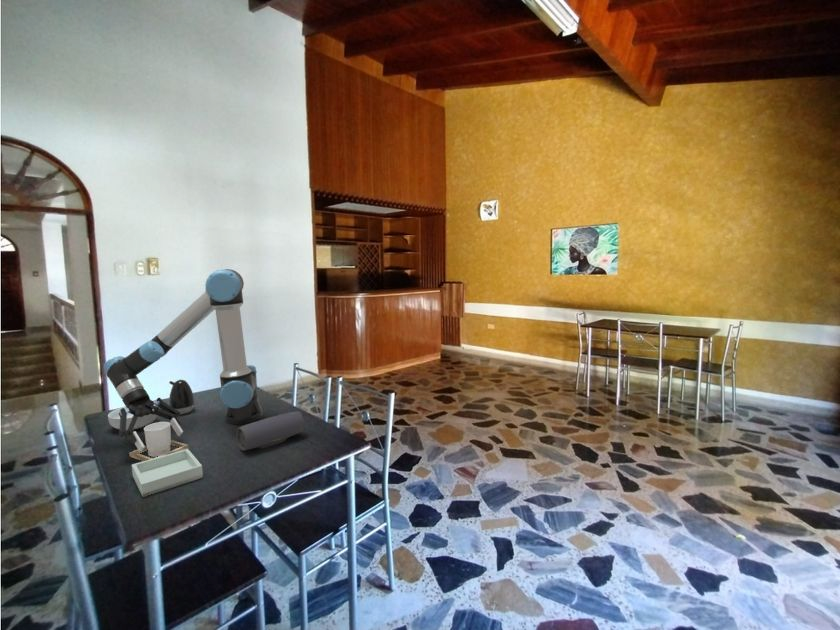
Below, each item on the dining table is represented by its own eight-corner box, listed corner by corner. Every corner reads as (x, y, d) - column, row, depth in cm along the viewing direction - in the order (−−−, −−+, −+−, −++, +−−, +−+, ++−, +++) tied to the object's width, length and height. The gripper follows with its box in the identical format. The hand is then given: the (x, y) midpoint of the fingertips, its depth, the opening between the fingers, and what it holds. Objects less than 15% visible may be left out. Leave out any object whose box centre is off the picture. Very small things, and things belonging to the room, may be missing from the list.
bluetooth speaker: (294, 431, 165) (293, 407, 164) (305, 438, 158) (305, 413, 157) (236, 449, 149) (234, 422, 148) (247, 457, 142) (245, 430, 141)
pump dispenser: (180, 407, 191) (177, 376, 189) (200, 409, 190) (198, 377, 188) (163, 416, 181) (160, 382, 179) (185, 417, 180) (182, 383, 178)
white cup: (175, 452, 146) (173, 425, 145) (149, 460, 141) (147, 432, 139) (168, 445, 152) (166, 420, 150) (143, 453, 146) (141, 426, 145)
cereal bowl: (103, 438, 158) (102, 420, 157) (115, 422, 173) (114, 406, 172) (155, 431, 165) (153, 414, 164) (162, 416, 180) (161, 401, 179)
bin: (188, 459, 141) (187, 448, 140) (202, 477, 129) (202, 465, 129) (132, 476, 130) (131, 464, 129) (142, 497, 118) (141, 484, 118)
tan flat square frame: (166, 442, 155) (165, 438, 155) (188, 448, 149) (188, 444, 149) (129, 456, 143) (129, 452, 143) (152, 464, 138) (151, 460, 137)
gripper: (163, 390, 162) (191, 433, 157) (90, 411, 140) (120, 462, 135) (170, 379, 159) (199, 423, 154) (97, 398, 137) (127, 450, 132)
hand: (162, 441), depth 145 cm, fingers open, 13 cm apart
